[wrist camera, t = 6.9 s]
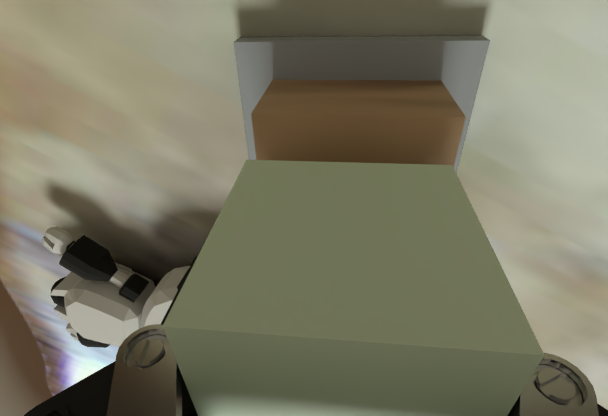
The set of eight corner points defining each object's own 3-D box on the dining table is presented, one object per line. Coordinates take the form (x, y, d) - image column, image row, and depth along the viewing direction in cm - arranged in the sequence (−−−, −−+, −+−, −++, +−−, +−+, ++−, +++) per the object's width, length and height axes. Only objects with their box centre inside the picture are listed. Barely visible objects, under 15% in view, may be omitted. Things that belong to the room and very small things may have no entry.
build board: (240, 37, 16) (233, 41, 15) (482, 35, 14) (489, 40, 14) (262, 221, 21) (258, 231, 20) (435, 229, 20) (439, 241, 19)
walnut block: (272, 79, 15) (250, 113, 12) (441, 80, 15) (465, 116, 11) (282, 211, 19) (268, 263, 16) (415, 217, 19) (427, 273, 15)
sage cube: (246, 159, 11) (162, 326, 6) (452, 165, 10) (544, 355, 5) (264, 294, 14) (219, 470, 9) (419, 304, 14) (456, 497, 9)
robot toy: (92, 309, 30) (261, 363, 30) (51, 357, 27) (244, 418, 26) (70, 192, 23) (293, 262, 23) (10, 236, 19) (275, 320, 19)
